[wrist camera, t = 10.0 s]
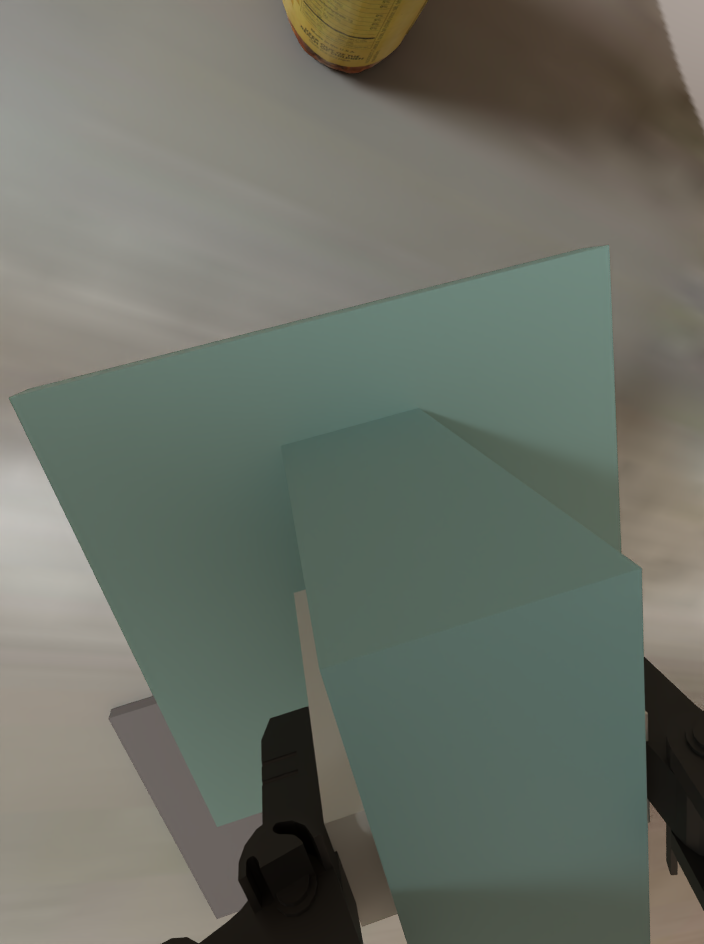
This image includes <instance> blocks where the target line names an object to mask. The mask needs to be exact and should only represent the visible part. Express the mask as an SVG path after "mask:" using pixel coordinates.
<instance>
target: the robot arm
mask: <svg viewBox="0 0 704 944" xmlns="http://www.w3.org/2000/svg"><path fill="white" fill-rule="evenodd" d="M294 599H295V606H296V614H297V621H298V629H299V637H300V644H301V652H302V659H303V667H304V675H305V682H306V690H307V697H308V705H309V706H307V707H303V708H300V709H297V710H294V711H291V712H288V713H285V714H282V715H279V716H275V717H272V718H270V719H269V722H268V724H267V727H266V729H265V732H264V734H263V737H262V739H261V763H262V784H263V786H262V825H261V826H260V827H259V828H257V829H256V830H255V832H254V833H253V834H252V836H251V837H250V838H249V840H248V841H247V842H246V844H245V846H244V849H243V851H242V854H241V857H240V860H239V863H238V881H239V883H240V885H241V887H242V889H243V891H244V893H245V895H246V898H247V900H248V901H247V902H246V904H245V905H244V906H243V907H242V909H241V910H240V911H239V912H238V913H237V914H236V915H235V916H233V917H232V918H231V919H230V920H229V921H228V922H227V923H225V924H224V925H223V926H221V927H220V928H219V929H217V930H216V931H215V932H213V933H212V934H211V935H210V936H208V937H207V938H206V939H204V940H203V941H202V942H200V943H197V942H195V941H193V940H191V939H189V938H188V937H184V938H171V939H169V940H168V941H166V942H164V943H162V944H363V940H362V934H361V928H360V922H361V925H362V926H365V925H368V924H371V923H374V922H376V921H379V920H382V919H385V918H387V917H390V916H393V915H396V914H398V913H397V910H396V907H395V904H394V900H393V897H392V894H391V891H390V888H389V885H388V882H387V879H386V876H385V872H384V869H383V866H382V863H381V860H380V857H379V854H378V851H377V848H376V844H375V841H374V838H373V835H372V832H371V829H370V826H369V823H368V820H367V816H366V813H365V810H364V807H363V804H362V801H361V798H360V795H359V792H358V788H357V785H356V782H355V779H354V776H353V773H352V770H351V767H350V764H349V760H348V757H347V754H346V751H345V748H344V745H343V742H342V739H341V736H340V732H339V729H338V726H337V723H336V720H335V717H334V714H333V711H332V708H331V704H330V701H329V698H328V695H327V692H326V689H325V686H324V683H323V680H322V676H321V673H320V670H319V665H318V659H317V653H316V647H315V642H314V636H313V630H312V624H311V618H310V612H309V607H308V601H307V595H306V589H305V590H302V591H298V592H295V593H294ZM644 693H645V737H646V781H647V823H649V822H650V803H649V801H650V802H651V804H652V805H653V806H654V808H655V809H656V810H657V811H658V813H659V814H660V815H661V817H662V818H663V819H664V821H665V822H666V861H667V864H668V868H669V871H670V874H671V875H677V861H678V862H679V864H680V866H681V868H682V870H683V872H684V874H685V876H686V878H687V880H688V882H689V883H690V885H691V887H692V889H693V891H694V893H695V895H696V897H697V899H698V901H699V902H700V904H701V906H702V908H703V910H704V711H702V710H701V709H700V708H698V707H697V706H696V705H695V704H694V703H693V702H692V701H691V700H690V699H688V698H687V697H686V696H685V695H684V694H683V693H682V692H681V691H680V690H679V689H678V688H677V687H676V686H675V685H674V684H673V683H671V682H670V681H669V680H668V679H667V678H666V677H665V676H664V675H663V674H662V673H661V672H660V671H659V670H658V669H657V668H656V667H654V666H653V665H652V664H651V663H650V662H649V661H648V660H647V659H646V658H645V657H644ZM359 920H360V922H359Z"/></svg>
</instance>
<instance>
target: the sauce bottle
mask: <svg viewBox="0 0 704 944" xmlns="http://www.w3.org/2000/svg"><path fill="white" fill-rule="evenodd" d="M427 1H428V0H283V4H284V7H285V10H286V12H287V17H288V20H289V22H290V25H291V26H292V30H293V31H294V33H295V35H296V37H297V39H298V41H299V43H300V44H301V46H302V47H303V49H304V50H305V51H306V52H307V53H308V54H309V55H310V56H312V57H313V58H315V59H316V60H318V61H319V62H320V63H323V64H324V65H326V66H328V67H330V68H333V69H336V70H340V71H344V72H346V73H359V72H361V71H363V70H365V69H368V68H371V67H373V66H374V65H376V64H377V63H379V62H380V61H381V60H382V59H384V58H386V57H387V56H388V55H389V54H390V53H392V52H393V51H394V50H395V49H396V48H397V47H398V46H399V45H400V43H401V42H402V40H403V38H404V36H405V34H407V33H408V32H409V30H410V29H411V27H412V26H413V24H414V22H415V21H416V19H417V18H418V16H419V14H420V13H421V11H422V9H423V8H424V6H425V5H426V3H427Z"/></svg>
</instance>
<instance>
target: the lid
mask: <svg viewBox="0 0 704 944" xmlns="http://www.w3.org/2000/svg"><path fill="white" fill-rule="evenodd" d="M9 400H10V402H11V404H12V406H13V408H14V410H15V412H16V414H17V416H18V418H19V420H20V422H21V424H22V426H23V428H24V430H25V432H26V435H27V437H28V439H29V441H30V443H31V445H32V447H33V449H34V451H35V453H36V455H37V457H38V459H39V461H40V463H41V465H42V467H43V470H44V472H45V474H46V476H47V478H48V480H49V482H50V484H51V486H52V488H53V490H54V492H55V494H56V496H57V498H58V500H59V502H60V505H61V507H62V509H63V511H64V513H65V515H66V517H67V519H68V521H69V523H70V525H71V527H72V529H73V531H74V533H75V535H76V537H77V540H78V542H79V544H80V546H81V548H82V550H83V552H84V554H85V556H86V558H87V560H88V562H89V564H90V566H91V568H92V570H93V572H94V575H95V577H96V579H97V581H98V583H99V585H100V587H101V589H102V591H103V593H104V595H105V597H106V599H107V601H108V603H109V605H110V607H111V610H112V612H113V614H114V616H115V618H116V620H117V622H118V624H119V626H120V628H121V630H122V632H123V634H124V636H125V638H126V640H127V642H128V645H129V647H130V649H131V651H132V653H133V655H134V657H135V659H136V661H137V663H138V665H139V667H140V669H141V671H142V673H143V675H144V677H145V680H146V682H147V684H148V686H149V688H150V690H151V692H152V694H153V696H154V698H155V700H156V702H157V704H158V706H159V708H160V710H161V712H162V715H163V717H164V719H165V721H166V723H167V725H168V727H169V729H170V731H171V733H172V735H173V737H174V739H175V741H176V743H177V745H178V747H179V750H180V752H181V754H182V756H183V758H184V760H185V762H186V764H187V766H188V768H189V770H190V772H191V774H192V776H193V778H194V780H195V782H196V785H197V787H198V789H199V791H200V793H201V795H202V797H203V799H204V801H205V803H206V805H207V807H208V809H209V811H210V813H211V815H212V817H213V820H214V822H215V824H216V826H217V827H219V826H222V825H225V824H228V823H231V822H234V821H237V820H240V819H243V818H246V817H249V816H252V815H255V814H258V813H261V812H262V786H263V784H262V763H261V739H262V737H263V734H264V732H265V729H266V727H267V724H268V722H269V719H270V718H272V717H275V716H279V715H282V714H285V713H288V712H291V711H294V710H297V709H300V708H303V707H307V706H309V705H308V697H307V690H306V682H305V675H304V667H303V659H302V652H301V644H300V637H299V629H298V621H297V614H296V606H295V599H294V593H295V592H298V591H302V590H305V589H306V595H307V601H308V607H309V612H310V618H311V624H312V630H313V636H314V642H315V647H316V653H317V659H318V665H319V670H320V673H321V676H322V680H323V683H324V686H325V689H326V692H327V695H328V698H329V701H330V704H331V708H332V711H333V714H334V717H335V720H336V723H337V726H338V729H339V732H340V736H341V739H342V742H343V745H344V748H345V751H346V754H347V757H348V760H349V764H350V767H351V770H352V773H353V776H354V779H355V782H356V785H357V788H358V792H359V795H360V798H361V801H362V804H363V807H364V810H365V813H366V816H367V820H368V823H369V826H370V829H371V832H372V835H373V838H374V841H375V844H376V848H377V851H378V854H379V857H380V860H381V863H382V866H383V869H384V872H385V876H386V879H387V882H388V885H389V888H390V891H391V894H392V897H393V900H394V904H395V907H396V910H397V913H398V916H399V919H400V922H401V925H402V928H403V932H404V935H405V938H406V941H407V944H650V912H649V868H648V824H647V781H646V737H645V693H644V649H643V605H642V568H641V567H639V566H638V565H637V564H635V563H634V562H632V561H631V560H630V559H628V558H627V557H626V556H624V555H623V554H621V534H620V508H619V483H618V458H617V432H616V407H615V382H614V356H613V331H612V306H611V280H610V255H609V245H605V246H598V247H590V248H582V249H578V250H574V251H570V252H566V253H563V254H559V255H555V256H551V257H547V258H543V259H539V260H535V261H531V262H527V263H523V264H519V265H515V266H511V267H507V268H503V269H500V270H496V271H492V272H488V273H484V274H480V275H476V276H472V277H468V278H464V279H460V280H456V281H452V282H448V283H444V284H440V285H436V286H433V287H429V288H425V289H421V290H417V291H413V292H409V293H405V294H401V295H397V296H393V297H389V298H385V299H381V300H377V301H373V302H369V303H366V304H362V305H358V306H354V307H350V308H346V309H342V310H338V311H334V312H330V313H326V314H322V315H318V316H314V317H310V318H306V319H302V320H299V321H295V322H291V323H287V324H283V325H279V326H275V327H271V328H267V329H263V330H259V331H255V332H251V333H247V334H243V335H239V336H235V337H232V338H228V339H224V340H220V341H216V342H212V343H208V344H204V345H200V346H196V347H192V348H188V349H184V350H180V351H176V352H172V353H169V354H165V355H161V356H157V357H153V358H149V359H145V360H141V361H137V362H133V363H129V364H125V365H121V366H117V367H113V368H109V369H105V370H102V371H98V372H94V373H90V374H86V375H82V376H78V377H74V378H70V379H66V380H62V381H58V382H54V383H50V384H46V385H42V386H38V387H35V388H31V389H27V390H25V391H23V392H21V393H18V394H16V395H14V396H12V397H9Z"/></svg>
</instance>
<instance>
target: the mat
mask: <svg viewBox="0 0 704 944" xmlns="http://www.w3.org/2000/svg"><path fill="white" fill-rule="evenodd" d="M109 720H110V722H111V724H112V726H113V728H114V730H115V732H116V733H117V735H118V737H119V739H120V741H121V743H122V745H123V746H124V748H125V750H126V752H127V754H128V756H129V757H130V759H131V761H132V763H133V765H134V767H135V769H136V770H137V772H138V774H139V776H140V778H141V780H142V782H143V783H144V785H145V787H146V789H147V791H148V793H149V794H150V796H151V798H152V800H153V802H154V804H155V806H156V807H157V809H158V811H159V813H160V815H161V817H162V818H163V820H164V822H165V824H166V826H167V828H168V830H169V831H170V833H171V835H172V837H173V839H174V841H175V843H176V844H177V846H178V848H179V850H180V852H181V854H182V855H183V857H184V859H185V861H186V863H187V865H188V867H189V868H190V870H191V872H192V874H193V876H194V878H195V880H196V881H197V883H198V885H199V887H200V889H201V891H202V892H203V894H204V896H205V898H206V900H207V902H208V904H209V905H210V907H211V909H212V911H213V913H214V915H215V917H216V918H217V919H218V918H221V917H224V916H227V915H230V914H232V913H235V912H238V911H240V910H241V909H242V907H243V906H244V905H245V904H246V902H247V901H248V900H247V898H246V895H245V893H244V891H243V889H242V887H241V885H240V883H239V881H238V863H239V860H240V857H241V854H242V851H243V849H244V846H245V844H246V842H247V841H248V840H249V838H250V837H251V836H252V834H253V833H254V832H255V830H256V829H257V828H259V827H260V826H261V825H262V812H261V813H258V814H255V815H252V816H249V817H246V818H243V819H240V820H237V821H234V822H231V823H228V824H225V825H222V826H219V827H217V826H216V824H215V822H214V820H213V817H212V815H211V813H210V811H209V809H208V807H207V805H206V803H205V801H204V799H203V797H202V795H201V793H200V791H199V789H198V787H197V785H196V782H195V780H194V778H193V776H192V774H191V772H190V770H189V768H188V766H187V764H186V762H185V760H184V758H183V756H182V754H181V752H180V750H179V747H178V745H177V743H176V741H175V739H174V737H173V735H172V733H171V731H170V729H169V727H168V725H167V723H166V721H165V719H164V717H163V715H162V712H161V710H160V708H159V706H158V704H157V702H156V700H155V698H154V696H152V697H149V698H146V699H143V700H140V701H136V702H133V703H130V704H127V705H124V706H120V707H117V708H114V709H112V710H111V713H110V716H109Z"/></svg>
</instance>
